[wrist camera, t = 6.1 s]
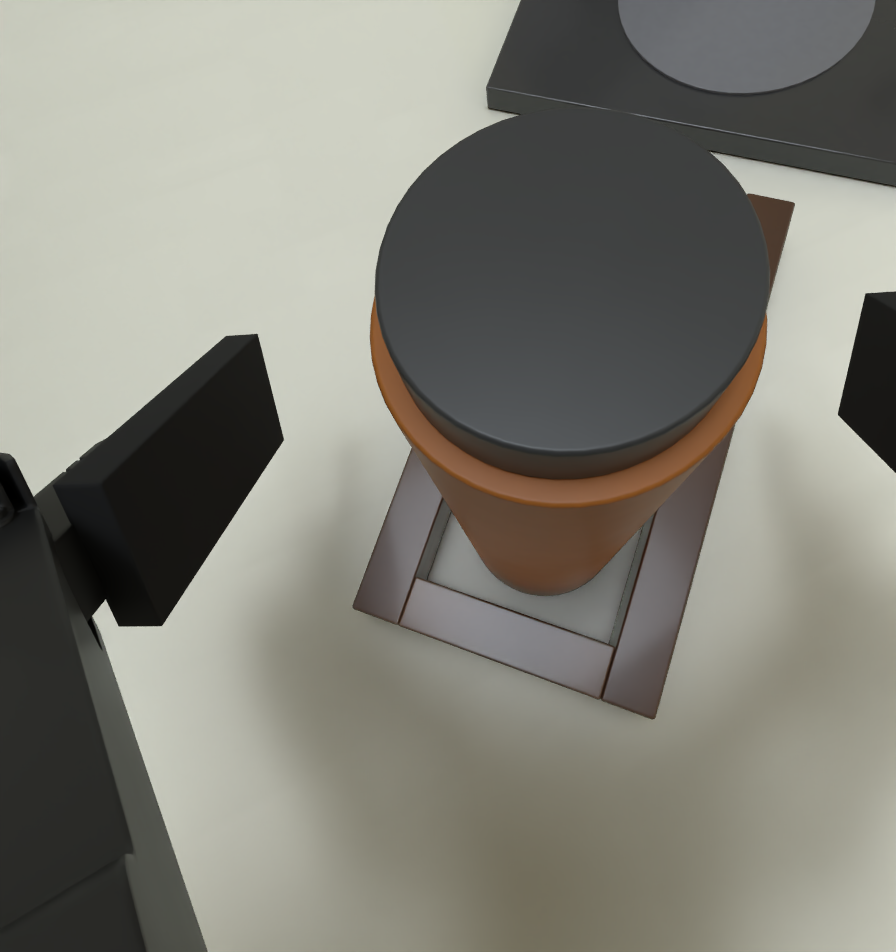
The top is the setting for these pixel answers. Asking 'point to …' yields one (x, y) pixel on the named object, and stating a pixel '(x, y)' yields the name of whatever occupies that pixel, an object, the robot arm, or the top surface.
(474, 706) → the top surface
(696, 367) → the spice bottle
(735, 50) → the hob plate
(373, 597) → the frame
